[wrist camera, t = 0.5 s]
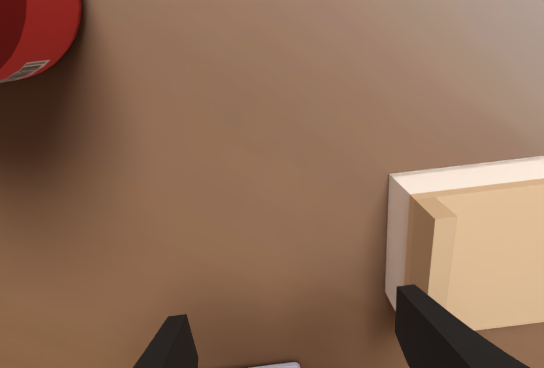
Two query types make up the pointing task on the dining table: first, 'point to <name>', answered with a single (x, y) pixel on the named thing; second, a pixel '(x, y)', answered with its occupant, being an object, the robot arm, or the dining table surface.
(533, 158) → the box
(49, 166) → the dining table surface
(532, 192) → the lid
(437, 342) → the robot arm
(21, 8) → the canned food
